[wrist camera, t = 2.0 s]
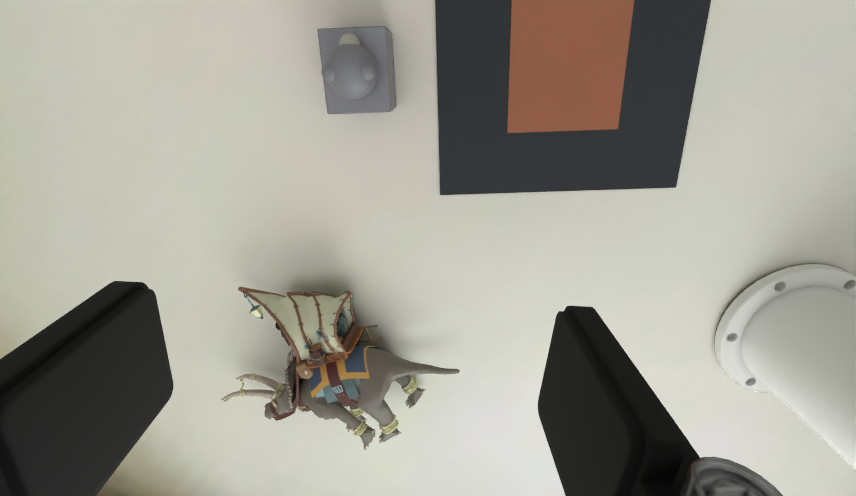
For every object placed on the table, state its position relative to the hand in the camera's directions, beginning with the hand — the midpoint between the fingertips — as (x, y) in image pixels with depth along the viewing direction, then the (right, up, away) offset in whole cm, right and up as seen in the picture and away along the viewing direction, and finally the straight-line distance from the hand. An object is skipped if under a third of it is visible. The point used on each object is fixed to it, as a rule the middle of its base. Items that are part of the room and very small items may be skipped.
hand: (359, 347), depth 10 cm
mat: (+11, +15, +20) cm, 27 cm away
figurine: (-7, -6, +29) cm, 30 cm away
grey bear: (-3, +15, +20) cm, 25 cm away
